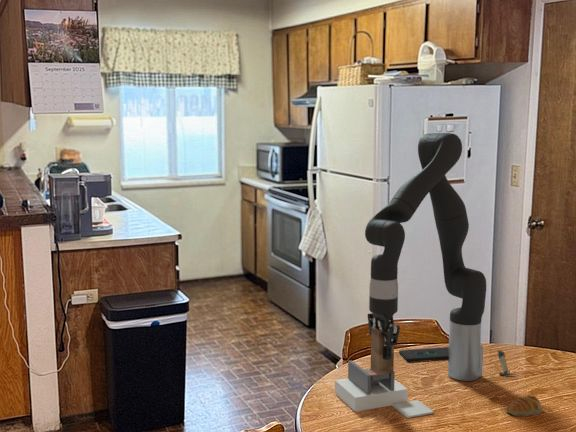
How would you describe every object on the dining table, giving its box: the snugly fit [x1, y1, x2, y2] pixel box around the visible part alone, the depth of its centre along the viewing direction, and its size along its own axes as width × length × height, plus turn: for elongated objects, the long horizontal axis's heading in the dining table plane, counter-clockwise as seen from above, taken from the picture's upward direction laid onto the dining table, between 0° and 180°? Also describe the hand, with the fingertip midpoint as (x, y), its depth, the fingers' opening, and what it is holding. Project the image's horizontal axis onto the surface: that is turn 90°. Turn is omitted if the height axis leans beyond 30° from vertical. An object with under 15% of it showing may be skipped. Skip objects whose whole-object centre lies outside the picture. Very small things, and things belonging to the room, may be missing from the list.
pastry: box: [505, 395, 543, 417], centre depth 185 cm, size 9×7×4 cm
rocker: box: [364, 369, 389, 380], centre depth 193 cm, size 5×12×1 cm, turn 21°
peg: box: [370, 327, 395, 375], centre depth 185 cm, size 4×4×12 cm
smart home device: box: [398, 346, 449, 363], centre depth 227 cm, size 8×2×20 cm
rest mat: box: [391, 399, 435, 419], centre depth 186 cm, size 8×8×1 cm
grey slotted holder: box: [334, 360, 409, 412], centre depth 193 cm, size 16×13×9 cm
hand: (382, 355), depth 186 cm, fingers closed on peg, 4 cm apart
